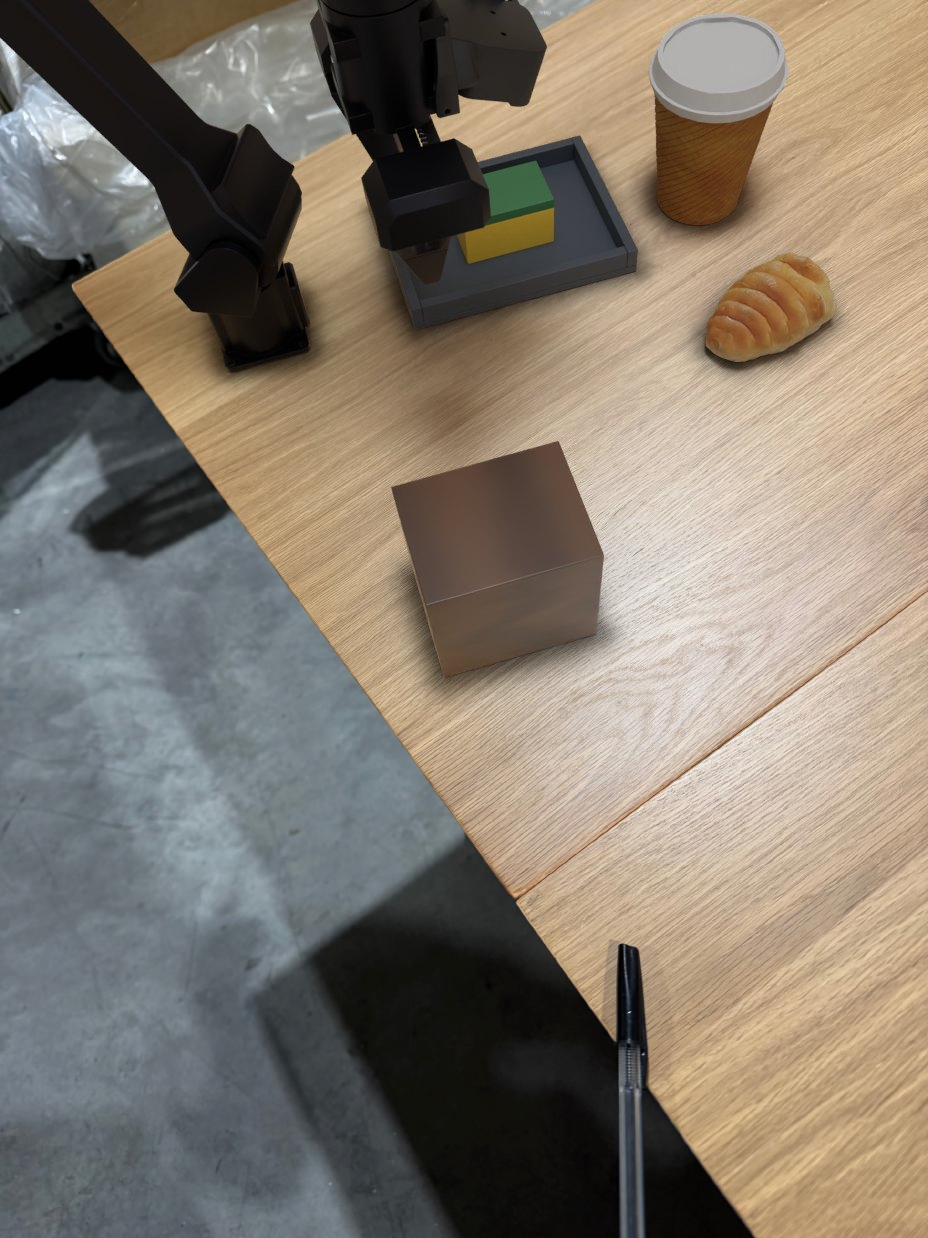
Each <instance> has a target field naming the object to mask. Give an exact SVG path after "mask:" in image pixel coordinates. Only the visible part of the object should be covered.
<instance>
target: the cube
mask: <svg viewBox="0 0 928 1238" xmlns="http://www.w3.org/2000/svg"><path fill="white" fill-rule="evenodd" d="M566 458H567V457H566V455H565V453H564V450H563V448H562V446H561V443H560V441H559V440H557V441H553V442H549V443H546V444H545V443H544V444H542V445H538V446H535V447H531V448H527V449H524V450H519V451H517V452H513V453H509V454H506V455H501V456H498V457H495V458H491V459H488V460H487V459H486V460H484V461H480V462H477V463H473V464H469V465H465V466H461V467H459V468H456V469H451V470H448V471H445V472H444V471H443V472H440V473H436V474H433V475H430V476H426V477H422V478H419V479H415V480H412V481H408V482H404V483H401V484H397V485H393V486H391V488H390V489H391V493H392V496H393V501H394V505H395V508H396V512H397V516H398V520H399V524H400V527H401V530H402V535H403V538H404V543H405V545H406V551H407V554H408V558H409V561H410V565H411V568H412V572H413V576H414V579H415V583H416V586H417V590H418V593H419V597H420V600H421V603H422V606H423V607H422V608H423V610H424V614H425V618H426V622H427V624H428V628H429V632H430V635H431V638H432V642H433V644H434V648H435V652H436V654H437V655H436V656H437V660H438V662H439V666H440V669H441V673H442V676H443V678H448V677H451V676H454V675H455V676H456V675H458V674H459V675H460V674H462V673H464V672H469V671H472V670H476V669H480V668H483V667H486V666H490V665H493V664H497V663H501V662H504V661H508V660H511V659H515V658H517V657H521V656H525V655H528V654H531V653H535V652H539V651H542V650H545V649H546V650H547V649H549V648H553V647H556V646H560V645H563V644H566V643H570V642H574V641H577V640H580V639H584V638H587V637H591V636H594V635H597V632H598V631H597V630H598V620H599V612H600V610H599V609H600V602H601V591H602V580H603V572H604V571H603V570H604V561H605V554H604V551H603V548H602V546H601V543H600V540H599V539H598V536H597V533H596V531H595V528H594V526H593V523H592V521H591V518H590V516H589V513H588V511H587V508H586V506H585V503H584V501H583V498H582V496H581V493H580V490H579V488H578V486H577V483H576V481H575V478H574V476H573V473H572V470H571V467H570V465H569V463H568V461H567V459H566Z"/></svg>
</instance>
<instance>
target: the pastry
mask: <svg viewBox="0 0 928 1238" xmlns="http://www.w3.org/2000/svg"><path fill="white" fill-rule="evenodd" d="M830 285H831V284H830V278H829V276H828V274H827V273H826V272H825V270H823V269H822V268H821V266H820V265H818V263H816V262H815V261H814V260H813V259H811V258H810V257H808V256H804V255H798V254H796V253H794V252H787V253H782V254H781V253H780V254H777V255H776V256H775V257H774V258H773V259H771V260H769V261H766V262H764V263H761V264H760V265H758V266H755V267H753V268H751V269H750V270H748V271H747V272H746V273H745V274H744V275H743V276H742V277H741V278H740V279H738V280H737V281H735V282H734V283H733V284H732V285H731V286H730V287H729V289H728V290H726V291H725V292H724V294H723V296H722V298H721V299H720V300H719V302H718V304H717V306H716V309H715V311H714V312H713V314H712V315H711V317H710V318H708V320H707V322H706V336H705V347H706V348H707V349H708V350H709V351H711V352H712V353H713V354H714V355H716V356H717V357H719V358H722V359H724V360H728V361H731V362H735V363H742V362H743V363H745V362H748V361H753V360H757V359H759V357H763V356H768V355H776V354H779V353H782V352H785V351H786V350H787V349H789V348H790V347H792V346H794V345H796V344H797V343H799V342H802V341H803V340H804V339H805V338H807V337H808V336H810V335H813V334H814V333H816V332H817V331H818V330H819V329H820V328H821V326H822V325H824V324H826V323H827V322H828V321H829V320H831V319H832V318H833V317H834V316H835V314H836V312H837V303H836V302H835V293H834V292H833V289H832V288H831V286H830Z"/></svg>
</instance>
